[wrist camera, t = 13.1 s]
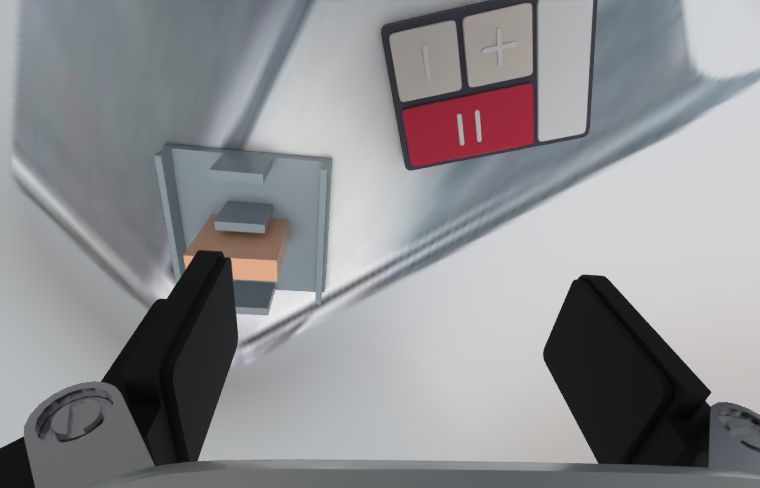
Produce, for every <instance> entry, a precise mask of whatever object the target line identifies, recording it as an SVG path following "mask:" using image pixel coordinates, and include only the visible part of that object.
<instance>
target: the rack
mask: <svg viewBox="0 0 760 488" xmlns="http://www.w3.org/2000/svg"><path fill="white" fill-rule="evenodd" d="M161 149H162V150H161V151H160V152H158V153H157V154H156V155H154V157H155V163H156V169H157V174H158V180H159V186H160V192H161V198H162V203H163V209H164V215H165V221H166V226H167V232H168V238H169V244H170V249H171V255H172V261H173V267H174V273H175V278H176V284H177V282H178V281H179V279H180V278H181V276H182V274H183V273H184V271H185V270H186V269H185V263H184V257H183V255H184V254H185V252H186V251H187V249H188V248H189V246H190V245H191V243H192V242H193V240H194V239H195V238H196V236H197V235H198V233H199V232H200V230H201V229H202V227H203V226H204V224H205V223H206V221H207V220H208V219H209V217H210V216H211V214H212V215H218V216H217V218H216V219H215V221H214V223H215V230H223V231H237V232H251V233H265V232H266V230H267V227H268V225H269V222H270V219H271V218H273V219H289V228H290V239H289V242H288V246H287V249H286V253H285V257H284V260H283V264H282V267H281V271H280V274H279V278H278V281H258V280H238V279H233V284H234V296H235V307H236V314H253V315H268V313H269V310H270V306H271V303H272V299H273V296H274V292H275V290H293V291H311V292H316V304H321V296H322V292H325V278H326V259H327V239H328V220H329V201H330V182H331V163H332V159H330V158H318V157H307V156H296V155H285V154H273V153H262V152H251V151H239V150H228V149H217V148H206V147H194V146H183V145H172V144H165V145H164V146H163V147H161Z"/></svg>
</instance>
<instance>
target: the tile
mask: <svg viewBox="0 0 760 488" xmlns="http://www.w3.org/2000/svg"><path fill="white" fill-rule="evenodd" d="M217 216H218V215H212V214H211V216H210V217H209V219H208V220H207V221H206V223H205V224H204V226H203V227H202V229H201V230H200V232H199V233H198V235H197V236H196V238H195V239H194V240H193V242H192V243H191V245H190V246H189V248H188V249H187V251H186V252H185V254H184V255H183V257H184V263H185V269H186V268H187V267H188V265H189V263H190V262H191V260H192V259H193V257H194V256H195V254H196V252H197V251H198V250H209V251H222V252H223V254H224V257H230V258H231V262H232V273H233V279H238V280H258V281H278V278H279V274H280V271H281V267H282V264H283V260H284V257H285V253H286V249H287V246H288V242H289V239H290V228H289V219H273V218H271V219H270V222H269V225H268V227H267V230H266V232H265V233H251V232H237V231H223V230H215V223H214V221H215V219H216V218H217Z"/></svg>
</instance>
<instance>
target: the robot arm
mask: <svg viewBox="0 0 760 488" xmlns="http://www.w3.org/2000/svg"><path fill="white" fill-rule="evenodd" d="M237 342H238V330H237V319H236V307H235V296H234V284H233V273H232V262H231V258H230V257H224V254H223V252H222V251H209V250H198V251H197V252H196V254H195V256H194V257H193V259H192V260H191V262H190V263H189V265H188V267H187V268H186V270H185V271H184V273H183V274H182V276H181V278H180V279H179V281H178V282H177V284H176V285H175V287H174V288H173V290H172V292H171V293H170V295H169V296H168V298H167V299H159V300H156V302H155V303H154V304H153V305H152V307H151V308H150V310H149V311H148V313H147V314H146V316H145V317H144V319H143V320H142V322H141V323H140V324H139V326H138V328H137V329H136V331H135V332H134V334H133V335H132V337H131V338H130V339H129V341H128V342H127V344H126V345H125V347H124V348H123V350H122V351H121V353H120V354H119V356H118V357H117V359H116V360H115V362H114V363H113V365H112V366H111V368H110V370H108V372H107V373H106V375H105V376H104V378H103V379H102V381H101V382H87V383H80V384H77V385H74V386H71V387H67V388H65V389H63V390H61V391H59V392H57V393H55V394H53V395H52V396H50V397H49V398H48V399H46V400H45V401H43V402H42V403H41V404H40V405H39V406H38V407H37V408H36V409H35V410H34V411H33V412H32V414H31V415H30V416H29V418H28V420H27V422H26V424H25V426H24V437H22V438H20V439H18V440H16V441H14V442H12V443H10V444H8V445H6V446H4V447H2V448H0V488H760V415H759V414H757V413H755V412H753V411H751V410H750V409H748V408H745V407H742V406H740V405H737V404H733V403H728V402H720V403H719V402H718V403H716V404H714V405H713V406H712V407H710V406H709V405H708V404H707V403H706V401H705V400H706V399H707V397H708V396H709V395H710V394H711V391H710V390H709V389H708V388H707V387H706V386H705V385H704V384H703V383H702V381H701V380H700V379H699V378H698V377H697V376H696V375H695V374H694V373H693V372H692V370H691V369H690V368H689V367H688V366H687V365H686V364H685V363H684V362H683V361H682V360H681V359H680V357H679V356H678V355H677V354H676V353H675V352H674V351H673V350H672V349H671V348H670V346H669V345H668V344H667V343H666V342H665V341H664V340H663V339H662V338H661V337H660V335H659V334H658V333H657V332H656V331H655V330H654V329H653V328H652V327H651V326H650V325H649V323H648V322H646V320H645V319H644V318H643V317H642V316H641V315H640V314H639V313H638V311H637V310H636V309H635V308H634V307H633V306H632V305H631V304H630V303H629V302H628V300H627V299H626V298H625V297H624V296H623V295H622V294H621V293H620V292H619V291H618V290H617V289H616V287H614V285H613V284H612V283H611V282H610V281H609V280H608V279H607V278H606V277H605V276H597V275H582V276H580V277H579V278H578V279H577V280H574V281H573V283H572V284H571V287H570V289H569V292H568V294H567V296H566V298H565V301H564V303H563V305H562V308H561V310H560V312H559V315H558V317H557V319H556V322H555V325H554V326H553V329H552V331H551V334H550V336H549V339H548V341H547V343H546V345H545V348H544V352H543V356H544V361H545V363H546V365H547V367H548V369H549V371H550V373H551V374H552V376H553V378H554V380H555V382H556V384H557V386H558V388H559V390H560V391H561V393H562V395H563V397H564V399H565V401H566V403H567V405H568V407H569V409H570V410H571V412H572V414H573V416H574V418H575V420H576V422H577V424H578V426H579V428H580V429H581V431H582V433H583V435H584V437H585V439H586V441H587V443H588V445H589V446H590V448H591V450H592V452H593V454H594V456H595V458H596V460H597V462H598V464H582V463H580V464H579V463H533V462H474V461H472V462H471V461H404V460H403V461H402V460H401V461H400V460H397V461H396V460H303V459H299V460H298V459H297V460H216V461H198V458H199V455H200V452H201V449H202V446H203V443H204V440H205V438H206V435H207V432H208V429H209V426H210V423H211V420H212V417H213V414H214V411H215V409H216V406H217V403H218V400H219V397H220V394H221V391H222V388H223V385H224V383H225V379H226V377H227V374H228V371H229V368H230V365H231V362H232V359H233V357H234V354H235V351H236V347H237Z"/></svg>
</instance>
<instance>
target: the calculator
mask: <svg viewBox="0 0 760 488" xmlns="http://www.w3.org/2000/svg"><path fill="white" fill-rule="evenodd" d="M596 15H597V0H489V1H484V2H480V3H476V4H471V5H467V6H463V7H458V8H454V9H450V10H446V11H441V12H437V13H433V14H428V15H424V16H420V17H415V18H411V19H407V20H403V21H398V22H394V23H390V24H386V25H384V26H383V27H382V30H381V35H382V42H383V47H384V53H385V58H386V64H387V69H388V75H389V80H390V86H391V91H392V97H393V102H394V108H395V113H396V119H397V124H398V130H399V135H400V141H401V146H402V152H403V157H404V163H405V167H406V169H408V170H416V169H421V168H426V167H432V166H437V165H442V164H447V163H452V162H457V161H463V160H468V159H473V158H478V157H483V156H489V155H494V154H499V153H504V152H509V151H514V150H520V149H525V148H530V147H535V146H540V145H546V144H551V143H556V142H561V141H566V140H571V139H577V138H582V137H585V136H587V135H588V133H589V129H590V113H591V97H592V80H593V64H594V47H595V31H596Z"/></svg>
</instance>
